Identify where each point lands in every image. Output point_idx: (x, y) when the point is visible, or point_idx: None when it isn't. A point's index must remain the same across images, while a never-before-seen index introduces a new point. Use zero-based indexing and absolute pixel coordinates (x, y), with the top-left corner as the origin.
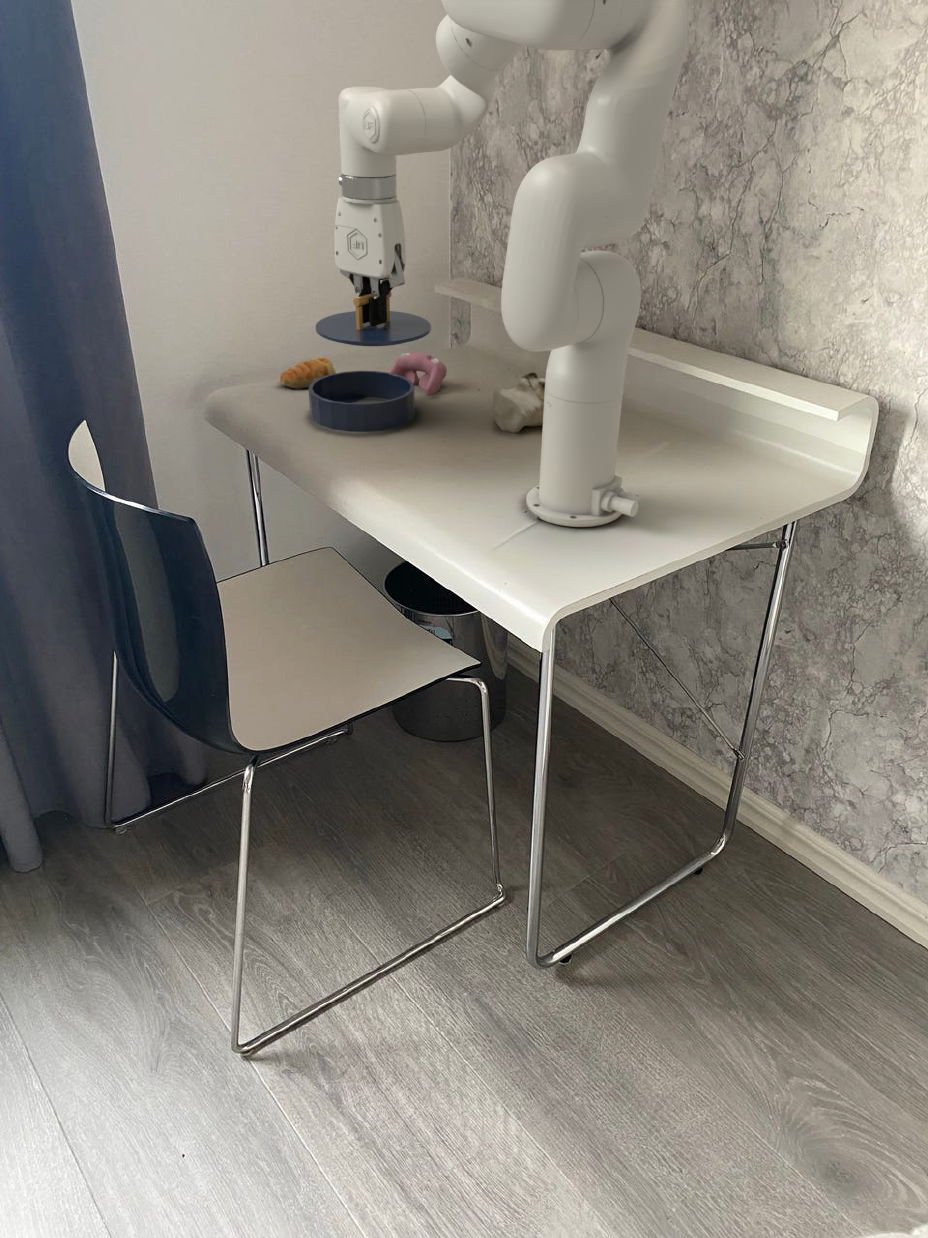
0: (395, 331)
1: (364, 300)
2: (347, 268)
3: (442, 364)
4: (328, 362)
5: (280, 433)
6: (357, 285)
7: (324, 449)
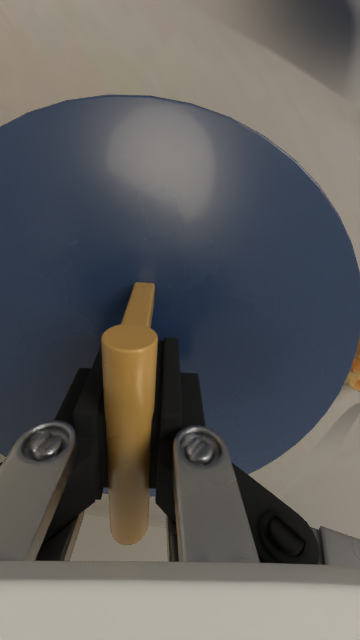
0: (23, 350)
1: (103, 379)
2: (293, 625)
3: None
4: (355, 383)
5: (282, 87)
6: (202, 476)
7: (141, 63)
